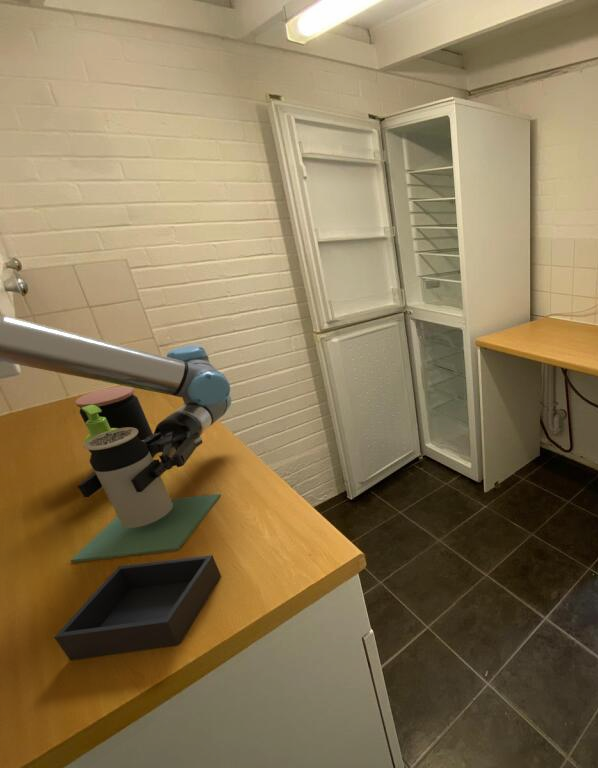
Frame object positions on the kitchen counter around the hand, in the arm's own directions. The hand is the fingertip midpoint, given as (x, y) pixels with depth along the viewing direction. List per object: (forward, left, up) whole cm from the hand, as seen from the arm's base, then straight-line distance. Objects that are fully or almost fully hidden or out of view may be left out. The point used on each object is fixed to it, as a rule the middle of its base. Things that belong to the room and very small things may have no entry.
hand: (110, 488), depth 75 cm
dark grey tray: (+13, -17, -13) cm, 25 cm away
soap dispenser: (-16, +22, -13) cm, 30 cm away
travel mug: (0, +5, -10) cm, 11 cm away
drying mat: (0, +5, -13) cm, 14 cm away
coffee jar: (-22, +34, -13) cm, 42 cm away
